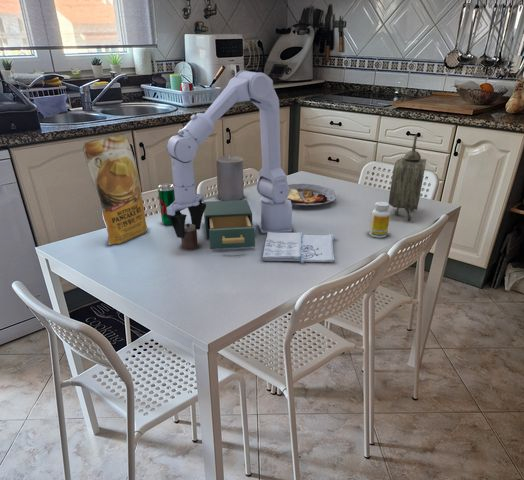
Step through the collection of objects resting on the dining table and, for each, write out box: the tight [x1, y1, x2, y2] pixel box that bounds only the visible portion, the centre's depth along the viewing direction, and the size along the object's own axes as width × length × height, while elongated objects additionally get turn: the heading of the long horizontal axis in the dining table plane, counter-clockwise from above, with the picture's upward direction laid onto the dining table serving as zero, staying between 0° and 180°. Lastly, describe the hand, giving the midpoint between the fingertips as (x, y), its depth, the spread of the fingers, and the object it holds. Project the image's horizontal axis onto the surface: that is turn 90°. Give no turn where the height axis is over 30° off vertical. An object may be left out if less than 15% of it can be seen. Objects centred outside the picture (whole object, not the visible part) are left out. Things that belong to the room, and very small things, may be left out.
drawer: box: [208, 216, 256, 250], centre depth 139 cm, size 16×13×6 cm
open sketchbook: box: [262, 232, 336, 264], centre depth 137 cm, size 19×20×2 cm
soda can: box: [157, 183, 175, 226], centre depth 153 cm, size 5×5×12 cm
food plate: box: [286, 183, 338, 207], centre depth 176 cm, size 25×23×4 cm
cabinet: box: [202, 199, 253, 240], centre depth 149 cm, size 13×14×7 cm
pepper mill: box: [180, 223, 199, 251], centre depth 138 cm, size 5×5×7 cm
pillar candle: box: [215, 154, 245, 201], centre depth 175 cm, size 10×10×15 cm
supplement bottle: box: [368, 201, 391, 239], centre depth 145 cm, size 5×5×10 cm
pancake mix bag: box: [82, 133, 148, 246], centre depth 139 cm, size 7×19×28 cm, turn 149°
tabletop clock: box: [388, 134, 427, 222], centre depth 155 cm, size 14×9×25 cm, turn 161°
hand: (188, 233), depth 137 cm, fingers open, 7 cm apart
